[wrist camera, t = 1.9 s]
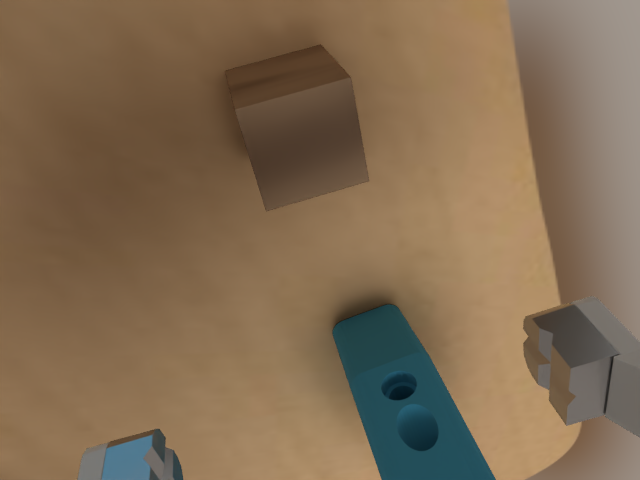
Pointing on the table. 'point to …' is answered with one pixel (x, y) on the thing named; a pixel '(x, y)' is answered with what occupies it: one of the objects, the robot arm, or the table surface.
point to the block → (405, 401)
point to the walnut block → (299, 125)
